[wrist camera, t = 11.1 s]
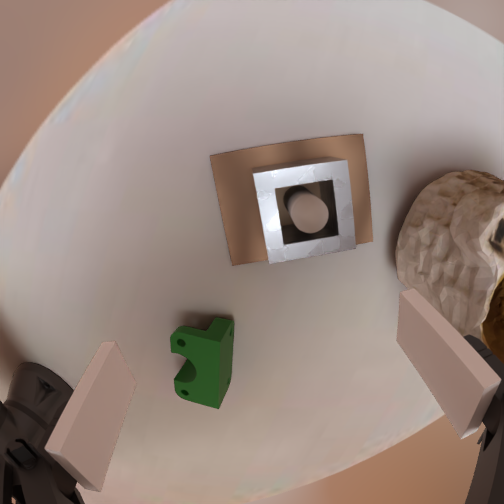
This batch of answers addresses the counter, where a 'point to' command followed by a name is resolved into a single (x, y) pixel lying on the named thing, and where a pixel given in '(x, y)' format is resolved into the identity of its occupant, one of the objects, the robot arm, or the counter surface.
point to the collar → (332, 194)
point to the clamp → (204, 362)
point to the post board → (286, 192)
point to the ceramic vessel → (458, 253)
